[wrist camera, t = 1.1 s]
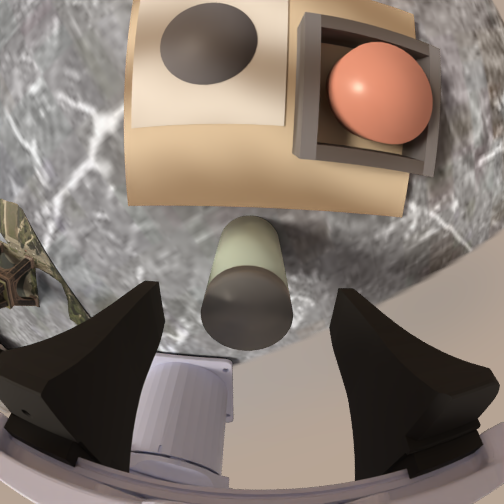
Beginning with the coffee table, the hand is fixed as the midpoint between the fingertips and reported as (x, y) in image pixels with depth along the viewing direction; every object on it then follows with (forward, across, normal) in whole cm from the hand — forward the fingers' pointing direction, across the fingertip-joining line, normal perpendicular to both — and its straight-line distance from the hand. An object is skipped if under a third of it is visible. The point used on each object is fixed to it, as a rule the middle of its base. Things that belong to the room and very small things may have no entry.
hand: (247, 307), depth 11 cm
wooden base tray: (+6, -1, -9) cm, 11 cm away
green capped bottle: (+6, 0, 0) cm, 6 cm away
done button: (+4, -6, -9) cm, 11 cm away
